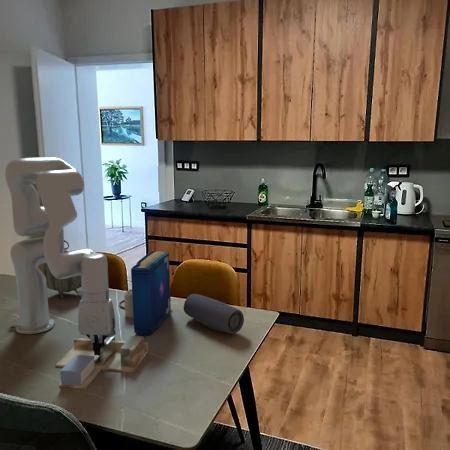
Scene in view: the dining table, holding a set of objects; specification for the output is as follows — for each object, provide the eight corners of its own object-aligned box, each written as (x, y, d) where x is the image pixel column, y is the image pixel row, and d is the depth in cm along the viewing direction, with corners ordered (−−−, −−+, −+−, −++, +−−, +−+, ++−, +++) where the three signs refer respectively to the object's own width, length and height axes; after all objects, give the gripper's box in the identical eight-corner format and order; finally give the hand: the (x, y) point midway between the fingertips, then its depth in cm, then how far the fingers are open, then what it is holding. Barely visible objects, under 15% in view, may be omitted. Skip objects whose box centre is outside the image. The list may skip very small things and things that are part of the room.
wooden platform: (36, 384, 119) (34, 364, 118) (77, 345, 142) (75, 328, 141) (121, 391, 116) (120, 370, 114) (148, 350, 138) (148, 332, 137)
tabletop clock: (86, 296, 187) (82, 239, 183) (70, 303, 179) (66, 243, 175) (60, 291, 193) (56, 236, 188) (44, 298, 185) (39, 240, 180)
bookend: (93, 364, 128) (93, 348, 127) (106, 350, 137) (105, 335, 136) (103, 365, 128) (102, 349, 127) (115, 351, 137) (114, 335, 136)
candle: (127, 319, 163) (126, 293, 161) (123, 314, 168) (122, 289, 166) (141, 316, 166) (140, 291, 164) (137, 311, 170) (136, 287, 169)
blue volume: (150, 338, 147) (148, 266, 143) (131, 336, 149) (128, 265, 144) (171, 313, 168) (169, 250, 164) (153, 312, 170) (152, 249, 165)
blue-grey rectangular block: (61, 384, 118) (60, 370, 117) (76, 367, 127) (76, 354, 126) (80, 385, 117) (79, 372, 116) (95, 369, 126) (94, 356, 125)
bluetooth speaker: (245, 332, 152) (245, 305, 150) (226, 341, 145) (226, 312, 144) (201, 314, 168) (201, 289, 166) (182, 321, 161) (182, 295, 159)
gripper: (65, 298, 126) (69, 357, 130) (115, 301, 124) (118, 361, 128) (77, 290, 134) (81, 346, 137) (124, 292, 132) (127, 349, 135)
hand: (99, 353), depth 132 cm, fingers closed
